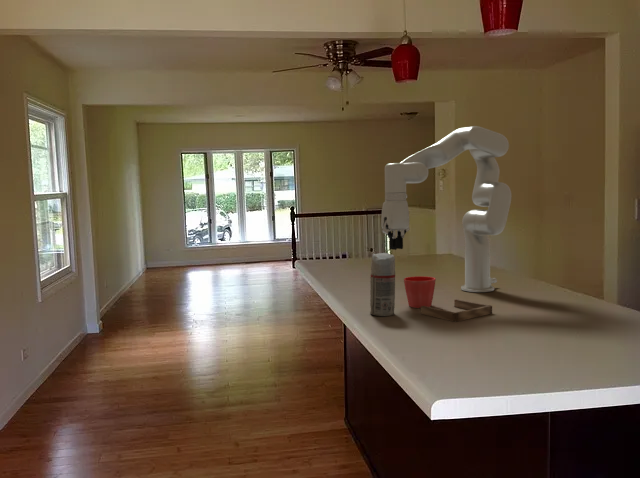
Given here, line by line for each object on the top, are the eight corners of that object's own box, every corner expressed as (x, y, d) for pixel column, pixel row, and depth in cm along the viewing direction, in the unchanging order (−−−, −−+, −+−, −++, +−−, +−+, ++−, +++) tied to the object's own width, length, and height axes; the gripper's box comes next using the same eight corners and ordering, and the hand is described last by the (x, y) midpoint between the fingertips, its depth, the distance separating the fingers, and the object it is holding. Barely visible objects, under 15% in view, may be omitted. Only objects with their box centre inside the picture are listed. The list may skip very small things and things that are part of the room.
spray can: (398, 312, 191) (397, 252, 189) (393, 317, 184) (392, 255, 182) (373, 310, 194) (372, 251, 192) (367, 316, 186) (366, 254, 184)
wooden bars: (456, 306, 198) (456, 299, 198) (492, 313, 186) (492, 305, 186) (420, 313, 188) (420, 306, 187) (455, 321, 176) (455, 313, 176)
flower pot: (400, 303, 205) (400, 276, 204) (431, 302, 206) (430, 275, 205) (407, 309, 194) (407, 281, 193) (439, 308, 195) (439, 280, 194)
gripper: (404, 197, 214) (405, 246, 215) (371, 198, 204) (372, 250, 206) (419, 197, 207) (419, 247, 209) (386, 198, 198) (386, 251, 200)
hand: (396, 248), depth 208 cm, fingers closed
